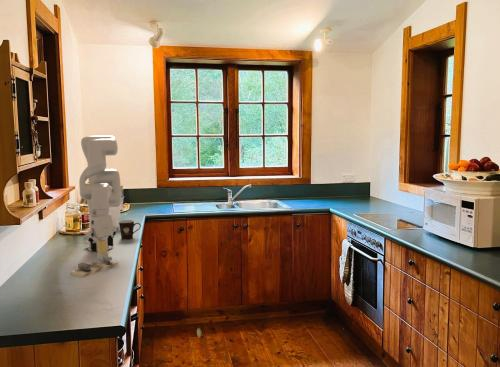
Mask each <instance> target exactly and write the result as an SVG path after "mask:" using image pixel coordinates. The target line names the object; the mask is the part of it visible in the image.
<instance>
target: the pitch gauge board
mask: <svg viewBox="0 0 500 367" xmlns="http://www.w3.org/2000/svg"><path fill="white" fill-rule="evenodd" d="M116 265H118V266H119V262H118V261H113V260H110V263H108V261H107V260H105V261H101V260H97V261H94V262H91V263H86V262H80V263H78V264H77V267H75V268H74V269H73V270H70V272H69V273H70V275H71V276H75V277H80V278H84V277H87V276H91V275H94V274H97V273H99V272H103V271H106V270H108V268H109V269H111V267H112V268H114V266H115V267H117V266H116ZM105 269H106V270H105ZM102 270H103V271H102Z"/></svg>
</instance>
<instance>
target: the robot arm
mask: <svg viewBox="0 0 500 367" xmlns="http://www.w3.org/2000/svg"><path fill="white" fill-rule="evenodd" d="M80 141H81V142H80V143H81V144H80V145H81V150H82V154H83V155H84V157H85V159H86V162H87V167H86V168H85V169H84V170H83V171H82V172H81V175H80V176H79V181H78V182H79V183H78V184H79V187H78V188H79V195H80V198H81V199H83V200H85V201H87V202H86V203H87V208H88V216H89V218H88V219H89V230H88V231H87V232H86V233H85V238H86V240H85V242H84V244H85V245H88V246H87V250H88V251H90V252H98V247H97V241H99V240H107V251H109V250H112V249H113V248H114V238H115V236H116V232H117V231H118V230H117V229H118V228H116V227H114V226H113V222H112V217H111V214H109V207H117V206H120V204H121V205H122V202H121V199H122V189H121V187H122V186H121V177H120V173H119V171H118V170H117V169H116V168H115V169H114V168H110V169H109V168H107V158H106V157H109V156H110V157H111V156H116V155H117V154H118V149H119V148H118V143H117V139H116V137H115V136H113V135H86V136H84V137H82V138H81V140H80ZM87 180H88V183H86V181H87Z"/></svg>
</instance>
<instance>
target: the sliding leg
mask: <svg viewBox="0 0 500 367" xmlns="http://www.w3.org/2000/svg"><path fill="white" fill-rule="evenodd" d="M97 247H98V251H97V253H96V258H97V261H100V260H101V261H105V260H107V261H108V263H110V261H113V257H112V256H109V253H108V250H107V240H99V241H97Z"/></svg>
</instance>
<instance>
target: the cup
mask: <svg viewBox="0 0 500 367" xmlns="http://www.w3.org/2000/svg"><path fill="white" fill-rule="evenodd" d="M122 201H123V200H122V198H121V204H120V206H117V207H109V214H111V217H112V222H113V226H114V227H116V228H117V229H118V228H119V227H120V226H119V221H120V216H121V209H122Z"/></svg>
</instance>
